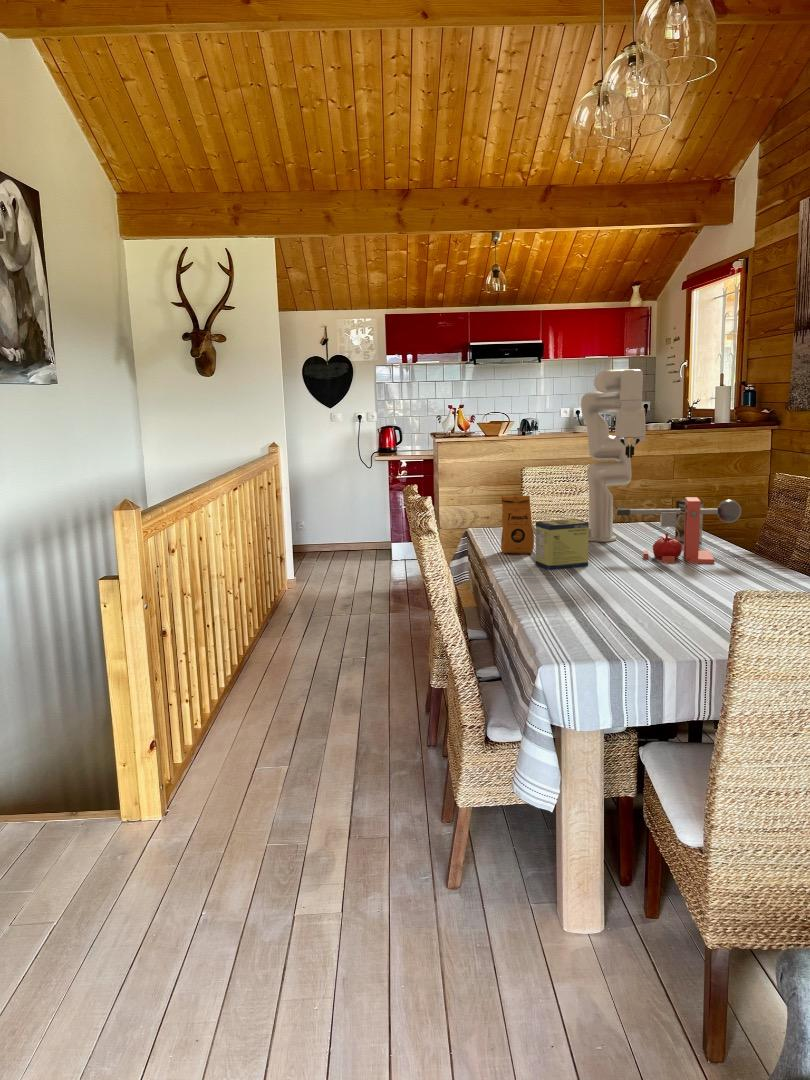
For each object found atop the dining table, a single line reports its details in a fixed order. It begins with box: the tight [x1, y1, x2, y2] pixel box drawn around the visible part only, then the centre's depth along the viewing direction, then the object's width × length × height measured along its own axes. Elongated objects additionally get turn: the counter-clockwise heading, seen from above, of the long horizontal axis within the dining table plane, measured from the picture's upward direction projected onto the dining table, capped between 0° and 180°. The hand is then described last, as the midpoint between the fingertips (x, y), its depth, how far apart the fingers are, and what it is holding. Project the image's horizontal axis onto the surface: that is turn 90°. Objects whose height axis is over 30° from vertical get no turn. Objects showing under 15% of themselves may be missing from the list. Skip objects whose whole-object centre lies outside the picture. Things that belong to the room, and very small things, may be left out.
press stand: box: [643, 496, 715, 565], centre depth 279 cm, size 23×16×21 cm
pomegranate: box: [652, 532, 683, 560], centre depth 281 cm, size 10×10×9 cm
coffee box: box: [674, 499, 704, 543], centre depth 312 cm, size 9×6×16 cm
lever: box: [616, 499, 742, 528], centre depth 278 cm, size 42×8×9 cm, turn 75°
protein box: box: [535, 518, 589, 571], centre depth 274 cm, size 10×16×16 cm
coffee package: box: [500, 495, 535, 555], centre depth 298 cm, size 10×12×22 cm
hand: (629, 457), depth 280 cm, fingers closed
